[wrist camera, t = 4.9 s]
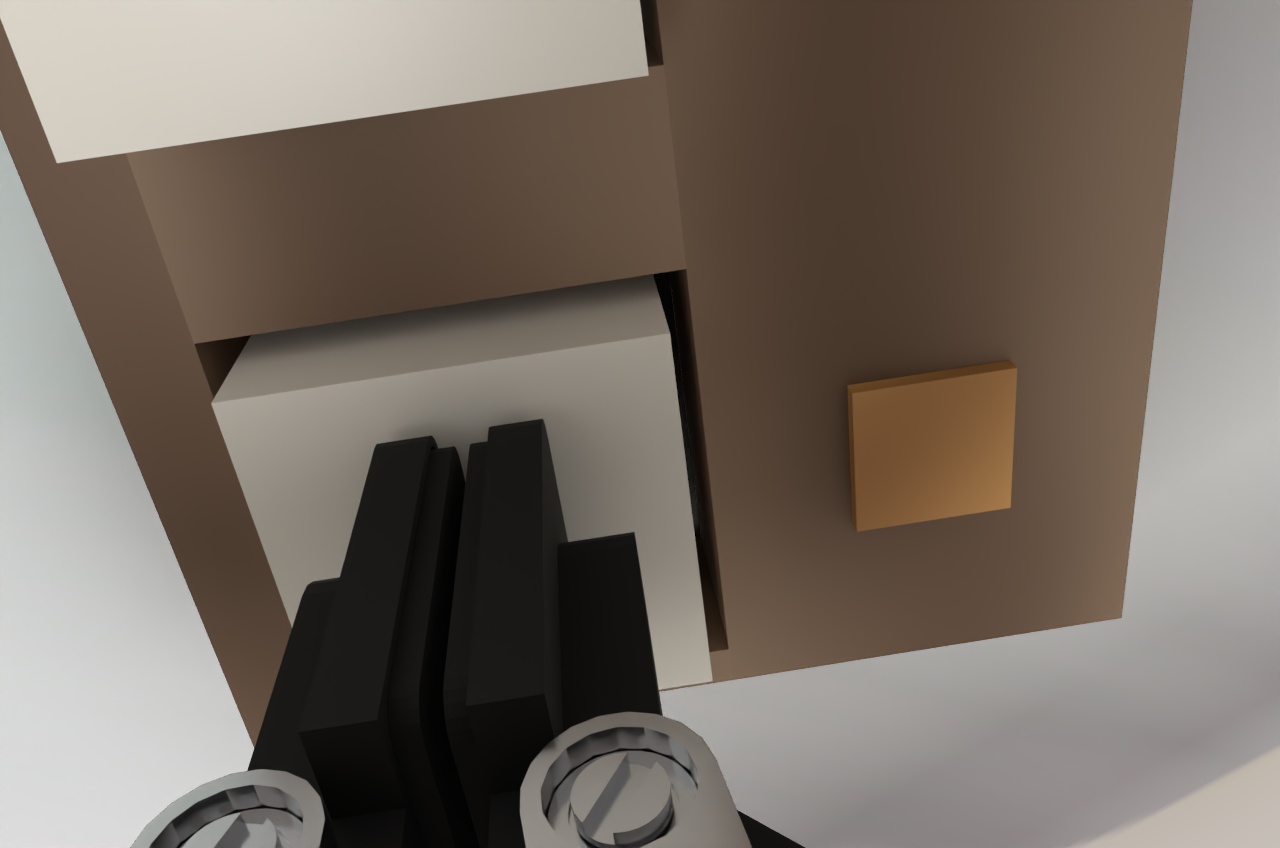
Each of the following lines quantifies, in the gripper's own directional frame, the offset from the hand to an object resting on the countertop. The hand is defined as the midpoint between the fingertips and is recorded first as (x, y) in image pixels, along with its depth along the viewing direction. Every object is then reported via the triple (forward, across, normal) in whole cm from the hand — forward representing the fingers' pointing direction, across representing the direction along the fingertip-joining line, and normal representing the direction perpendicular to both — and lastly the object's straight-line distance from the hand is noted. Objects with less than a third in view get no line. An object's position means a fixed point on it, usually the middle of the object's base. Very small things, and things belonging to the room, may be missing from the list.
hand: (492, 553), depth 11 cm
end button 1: (+3, 0, 0) cm, 3 cm away
